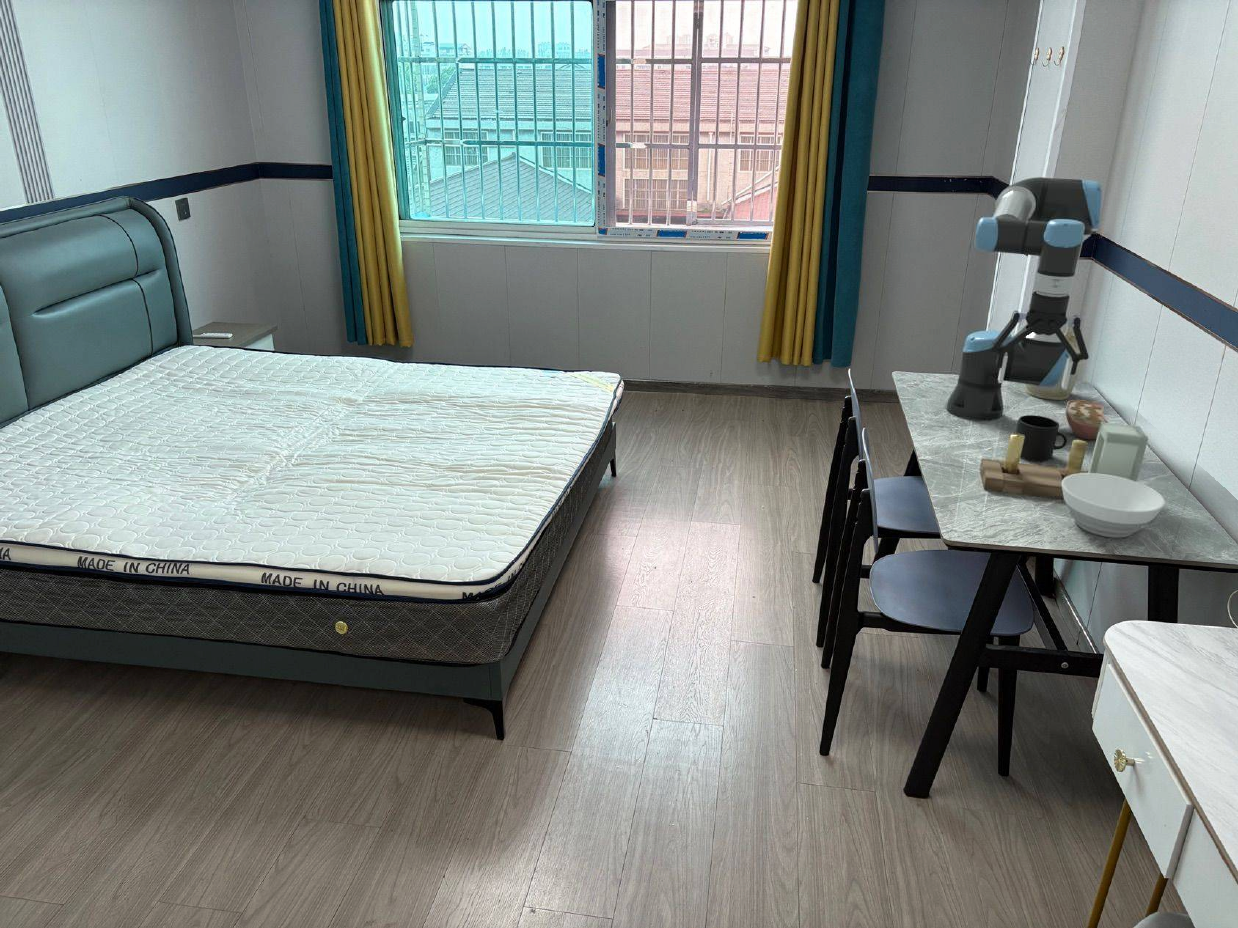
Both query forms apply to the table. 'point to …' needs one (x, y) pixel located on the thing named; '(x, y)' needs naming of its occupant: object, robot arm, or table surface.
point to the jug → (1057, 390)
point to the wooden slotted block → (1033, 475)
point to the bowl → (1110, 503)
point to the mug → (1039, 437)
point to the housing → (1118, 451)
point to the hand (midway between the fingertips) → (1031, 384)
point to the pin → (1013, 453)
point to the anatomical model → (1085, 418)
